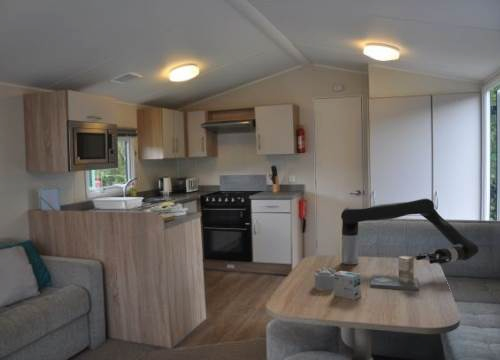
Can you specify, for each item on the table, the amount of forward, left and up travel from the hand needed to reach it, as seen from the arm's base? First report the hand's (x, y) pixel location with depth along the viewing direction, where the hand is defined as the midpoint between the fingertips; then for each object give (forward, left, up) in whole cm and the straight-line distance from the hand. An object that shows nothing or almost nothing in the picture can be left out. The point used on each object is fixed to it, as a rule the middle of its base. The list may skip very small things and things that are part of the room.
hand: (423, 259), depth 216 cm
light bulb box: (-34, -32, -11) cm, 48 cm away
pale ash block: (-8, -8, -9) cm, 15 cm away
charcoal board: (-14, -8, -11) cm, 19 cm away
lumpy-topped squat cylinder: (-46, -20, -11) cm, 51 cm away
